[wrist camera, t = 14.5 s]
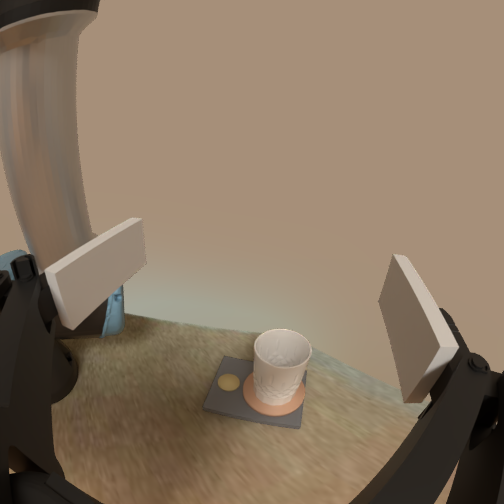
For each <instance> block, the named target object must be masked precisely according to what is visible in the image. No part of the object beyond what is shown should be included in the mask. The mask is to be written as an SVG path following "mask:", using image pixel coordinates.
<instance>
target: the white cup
mask: <svg viewBox="0 0 504 504" xmlns="http://www.w3.org/2000/svg"><path fill="white" fill-rule="evenodd" d="M311 354H312V348H311V345H310V343H309V342H308V340H307V339H306V338H305V337H304V336H303V335H301V334H299V333H297V332H295V331H292V330H288V329H272V330H268V331H265V332H263V333H262V334H260V335H259V336H258V337H257V339H256V340H255V343H254V362H253V379H254V386H253V390H254V393H255V395H256V397H257V398H258V399H259V400H260V401H262V402H263V403H265V404H268V405H272V406H277V405H283V404H286V403H288V402H290V401H291V400H292V398H293V397H294V396H295V394H296V391H297V389H298V387H299V385H300V383H301V380H302V378H303V375H304V373H305V370H306V367H307V365H308V362H309V359H310V357H311Z"/></svg>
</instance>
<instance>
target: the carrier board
mask: <svg viewBox="0 0 504 504" xmlns="http://www.w3.org/2000/svg"><path fill="white" fill-rule="evenodd" d="M306 374H307V370H305V373H304V375H303V378H302V380H301V383H300V385H299V387H298V389H297V391H296V394H295V396H294V397H293V398H292V400H291V401H290V402H288V403H286V404H283V405H277V406H272V405H268V404H265V403H263V402H262V401H260V400H259V399H258V398H257V397H256V395H255V393H254V390H253V386H254V379H253V362H252V361H247V360H242V359H237V358H233V357H228V356H224V358H223V360H222V362H221V365H220V367H219V369H218V372H217V374H216V376H215V379H214V381H213V383H212V386H211V388H210V391H209V393H208V395H207V398H206V400H205V402H204V404H203V410H205V411H208V412H212V413H216V414H220V415H224V416H228V417H232V418H237V419H241V420H246V421H251V422H256V423H261V424H267V425H273V426H279V427H286V428H293V429H300V427H301V419H302V411H303V403H304V397H305V384H306Z"/></svg>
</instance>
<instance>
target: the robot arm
mask: <svg viewBox="0 0 504 504" xmlns="http://www.w3.org/2000/svg"><path fill="white" fill-rule="evenodd" d="M99 2H100V0H0V150H1V156H2V161H3V165H4V170H5V174H6V179H7V183H8V187H9V191H10V195H11V198H12V202H13V205H14V208H15V211H16V215H17V218H18V221H19V224H20V226H21V229H22V232H23V235H24V238H25V240H26V243H27V245H28V248H29V250H30V253H31V254H27V253H26V252H25V251H22V250H14V251H11V252H8V253H5V254H3V255H1V256H0V504H103V503H101V502H99V501H98V500H96V499H94V498H93V497H91V496H89V495H88V494H86V493H85V492H83V491H81V490H80V489H78V488H77V487H75V486H74V485H72V484H71V483H69V482H68V481H67V480H65V476H64V472H63V470H62V467H61V466H60V464H59V462H58V460H57V459H56V456H55V453H54V445H53V433H52V416H51V404H53V403H56V402H58V401H59V400H61V399H62V398H64V397H65V396H66V395H67V394H68V393H69V392H70V391H71V389H72V388H73V386H74V385H75V382H76V380H77V375H78V367H77V363H76V361H75V359H74V357H73V354H72V353H71V351H70V350H69V348H68V347H67V346H66V345H65V344H64V343H63V342H62V341H61V340H60V339H79V338H97V337H99V338H103V337H104V336H111V335H117V334H119V333H121V332H122V331H123V329H124V326H125V315H124V296H123V284H124V283H125V282H126V281H127V280H128V279H129V278H130V277H132V276H133V275H134V274H135V273H136V272H137V271H138V270H140V269H141V268H142V267H143V266H144V265H146V254H145V244H144V233H143V221H142V219H139V218H130V219H128V220H126V221H124V222H123V223H121V224H119V225H117V226H116V227H114V228H112V229H110V230H108V231H106V232H105V233H103V234H101V235H99V236H98V235H96V234H94V233H92V230H91V225H90V221H89V216H88V211H87V205H86V200H85V194H84V187H83V181H82V173H81V166H80V157H79V147H78V134H77V117H76V69H77V52H78V41H79V35H80V34H81V32H82V31H83V30H84V29H85V28H86V27H87V26H88V25H89V24H90V23H91V22H92V21H93V20H94V19H96V17H97V12H98V6H99ZM378 302H379V305H380V309H381V311H382V315H383V319H384V322H385V325H386V329H387V332H388V336H389V339H390V344H391V348H392V352H393V355H394V360H395V364H396V368H397V372H398V377H399V381H400V386H401V391H402V396H403V401H404V403H422V401H423V400H424V399H425V397H426V396H427V395H428V393H429V392H430V396H431V400H432V401H431V402H430V403H429V404H428V406H427V407H426V408H425V409H424V411H423V412H422V413H421V414H420V415H419V416H418V419H419V420H418V421H417V423H416V424H415V426H414V427H413V429H412V430H411V432H410V433H409V435H408V436H407V437H406V439H405V440H404V441H403V443H402V444H401V446H400V447H399V448H398V450H397V451H396V452H395V453H394V455H393V456H392V457H391V458H390V460H389V461H388V462H387V463H386V465H385V466H384V467H383V468H382V469H381V470H380V472H379V473H378V474H377V475H376V476H375V477H374V478H373V480H372V481H371V482H370V483H369V484H368V485H367V486H366V487H365V488H364V489H363V490H362V491H361V492H360V493H359V494H358V495H357V496H356V497H355V498H354V499H353V500H352V501H351V502H350V503H349V504H434V503H435V501H436V500H437V498H438V496H439V495H440V493H441V492H442V490H443V488H444V487H445V485H446V483H447V481H448V480H449V478H450V476H451V474H452V472H453V470H454V468H455V466H456V465H457V463H458V461H459V463H458V467H457V471H456V474H455V478H454V481H453V484H452V488H451V491H450V494H449V497H448V500H447V502H446V504H504V371H503V372H502V374H501V373H497V372H494V371H490V367H489V364H488V363H487V361H486V360H485V359H484V358H483V357H481V356H480V355H478V354H476V353H470V351H469V349H468V348H467V345H466V344H465V342H464V340H463V338H462V336H461V334H460V333H459V332H458V331H459V330H458V328H457V327H456V326H455V323H454V322H453V319H452V318H451V316H450V315H449V314H448V313H447V312H446V311H445V310H444V309H443V308H438V306H437V305H436V303H435V301H434V299H433V298H432V296H431V294H430V293H429V291H428V289H427V288H426V286H425V284H424V283H423V281H422V279H421V278H420V276H419V275H418V273H417V272H416V270H415V269H414V267H413V265H412V264H411V262H410V261H409V259H408V258H407V256H403V255H397V254H393V256H392V259H391V262H390V266H389V270H388V273H387V276H386V279H385V282H384V286H383V289H382V292H381V295H380V298H379V301H378ZM497 421H498V422H497ZM496 422H497V425H496ZM459 458H460V459H459ZM9 468H10V469H12V470H13V471H14V472H16V473H13V474H9Z"/></svg>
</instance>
